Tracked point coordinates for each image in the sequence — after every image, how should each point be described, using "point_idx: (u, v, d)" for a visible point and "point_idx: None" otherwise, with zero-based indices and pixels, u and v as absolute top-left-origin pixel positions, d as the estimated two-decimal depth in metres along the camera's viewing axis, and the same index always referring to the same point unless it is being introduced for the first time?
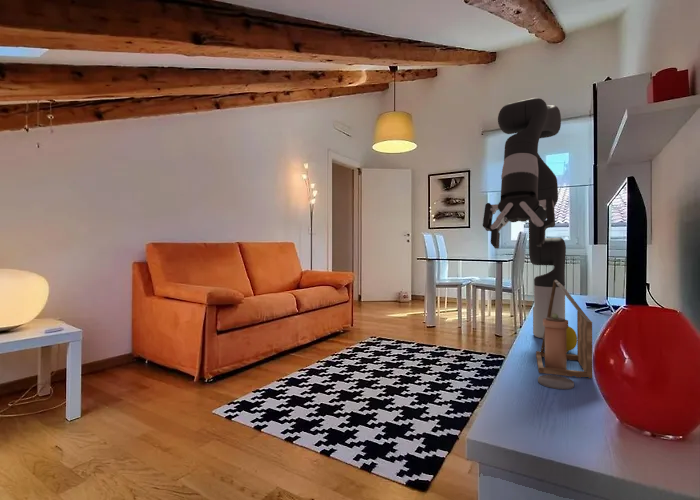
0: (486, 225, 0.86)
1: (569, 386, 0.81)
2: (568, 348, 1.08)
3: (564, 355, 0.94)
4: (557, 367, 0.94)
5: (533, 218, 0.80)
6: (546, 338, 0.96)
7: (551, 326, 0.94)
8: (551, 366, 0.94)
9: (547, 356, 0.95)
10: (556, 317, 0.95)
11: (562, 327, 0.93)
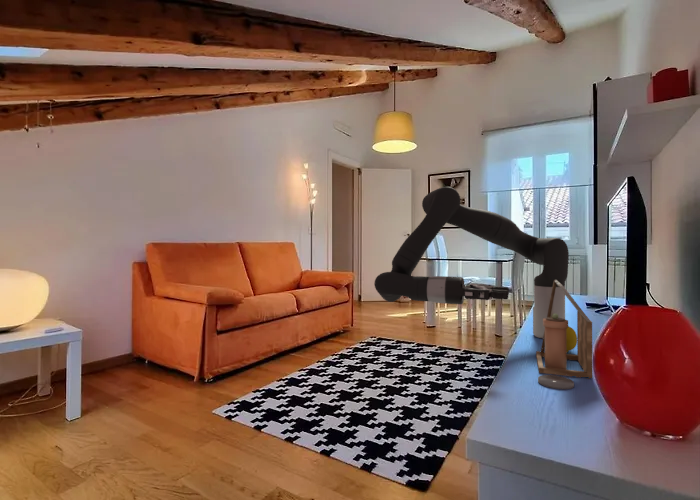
0: None
1: (569, 386, 0.81)
2: (568, 348, 1.08)
3: (564, 355, 0.94)
4: (557, 367, 0.94)
5: None
6: (546, 338, 0.96)
7: (551, 326, 0.94)
8: (551, 366, 0.94)
9: (547, 356, 0.95)
10: (556, 317, 0.95)
11: (562, 327, 0.93)
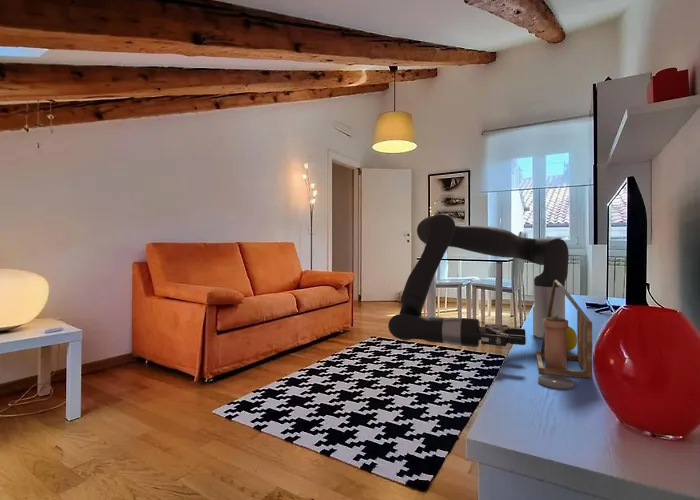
0: None
1: (569, 386, 0.81)
2: (568, 348, 1.08)
3: (564, 355, 0.94)
4: (557, 367, 0.94)
5: None
6: (546, 338, 0.96)
7: (551, 326, 0.94)
8: (551, 366, 0.94)
9: (547, 356, 0.95)
10: (556, 317, 0.95)
11: (562, 327, 0.93)
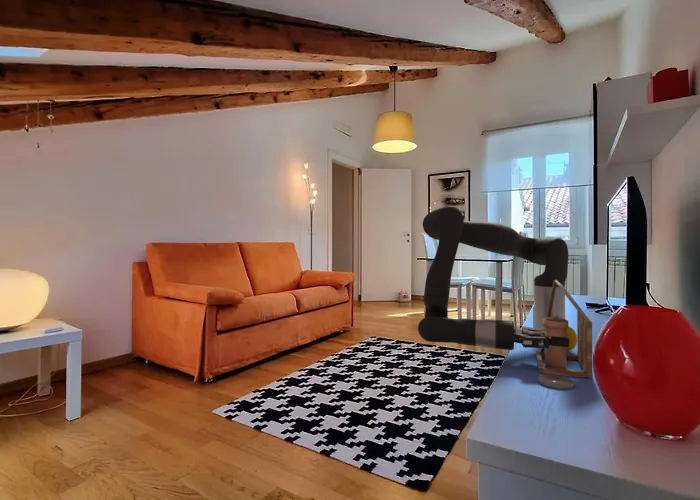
0: None
1: (569, 386, 0.81)
2: (568, 348, 1.08)
3: (565, 355, 0.94)
4: (557, 367, 0.94)
5: (541, 345, 0.95)
6: None
7: (551, 326, 0.94)
8: (551, 366, 0.94)
9: (547, 356, 0.95)
10: (556, 317, 0.95)
11: (562, 327, 0.93)
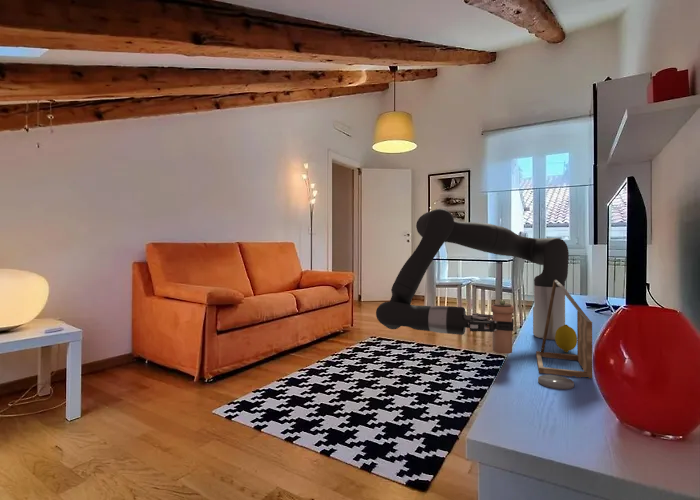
0: None
1: (569, 386, 0.81)
2: (568, 348, 1.08)
3: (510, 339, 0.99)
4: (502, 350, 0.99)
5: None
6: None
7: (497, 311, 0.99)
8: (497, 349, 0.99)
9: (494, 340, 1.00)
10: (503, 303, 1.00)
11: (507, 312, 0.98)
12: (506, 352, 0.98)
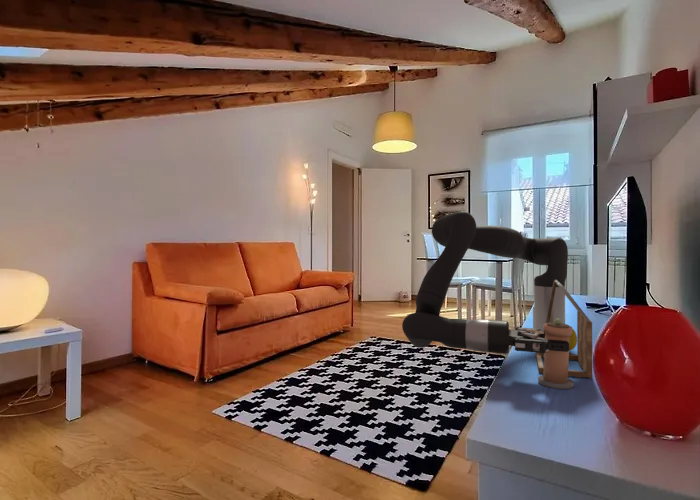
0: None
1: (569, 386, 0.81)
2: None
3: (566, 366, 0.83)
4: (557, 379, 0.82)
5: None
6: None
7: (553, 333, 0.82)
8: (550, 378, 0.83)
9: (546, 367, 0.84)
10: (559, 323, 0.84)
11: (565, 335, 0.82)
12: (561, 382, 0.82)
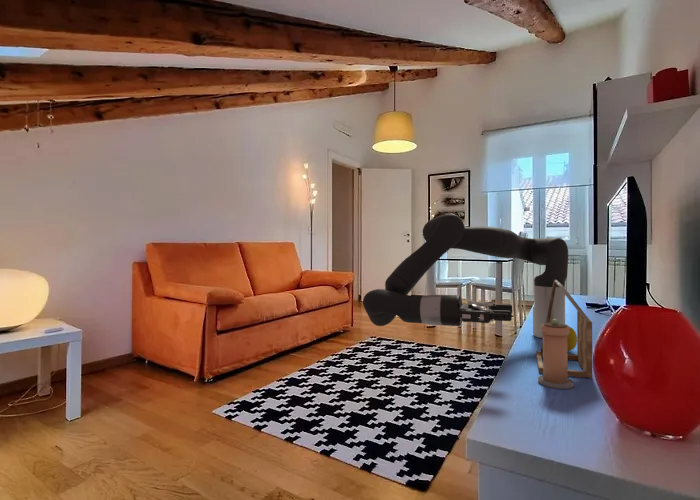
0: None
1: (569, 386, 0.81)
2: (568, 348, 1.08)
3: (565, 366, 0.83)
4: (557, 380, 0.82)
5: None
6: (544, 346, 0.84)
7: (550, 333, 0.83)
8: (550, 378, 0.83)
9: (545, 367, 0.84)
10: (556, 323, 0.84)
11: (563, 334, 0.82)
12: (561, 382, 0.82)
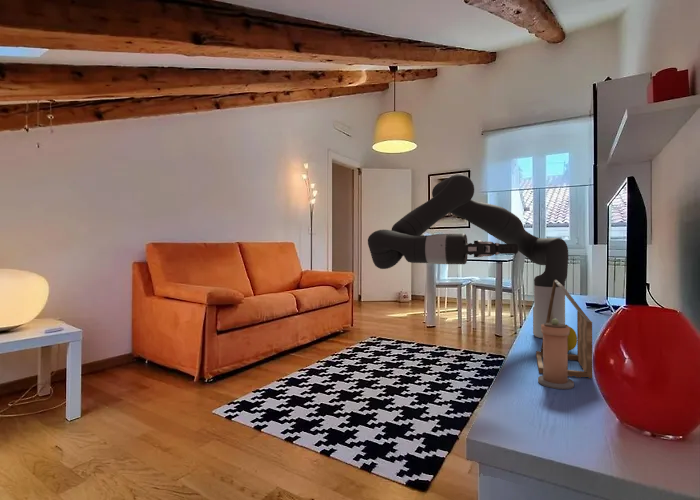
0: None
1: (569, 386, 0.81)
2: (568, 348, 1.08)
3: (565, 366, 0.83)
4: (557, 380, 0.82)
5: (490, 255, 0.87)
6: (545, 346, 0.84)
7: (550, 333, 0.83)
8: (550, 378, 0.83)
9: (545, 367, 0.84)
10: (556, 323, 0.84)
11: (563, 334, 0.82)
12: (561, 382, 0.82)
